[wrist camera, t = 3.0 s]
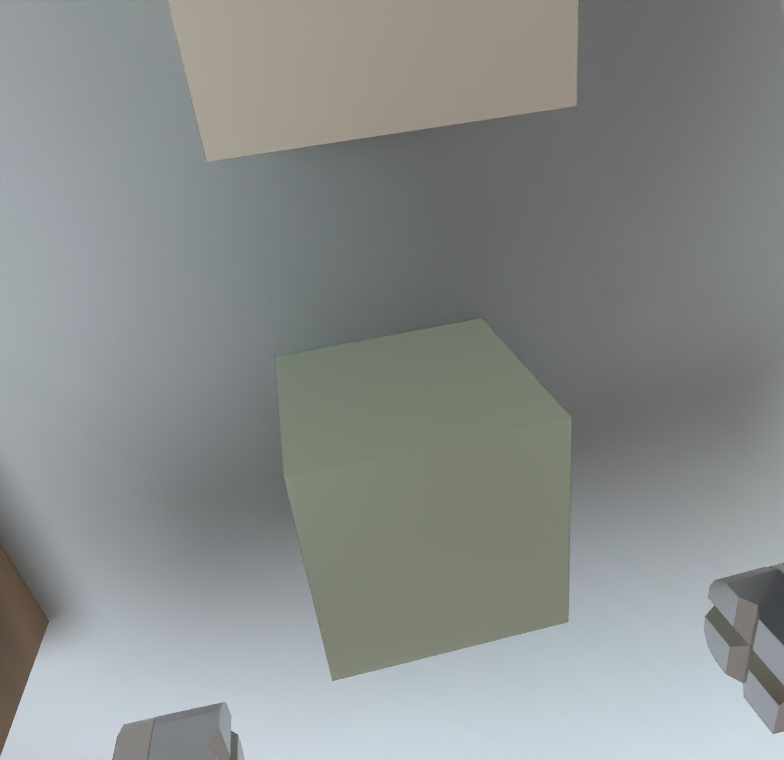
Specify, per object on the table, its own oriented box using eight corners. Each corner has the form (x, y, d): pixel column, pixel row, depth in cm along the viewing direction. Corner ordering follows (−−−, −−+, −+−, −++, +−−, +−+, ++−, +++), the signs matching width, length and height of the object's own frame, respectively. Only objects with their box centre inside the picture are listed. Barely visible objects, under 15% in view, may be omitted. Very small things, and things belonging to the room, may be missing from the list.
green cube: (274, 355, 15) (283, 478, 10) (480, 316, 15) (572, 417, 11) (311, 522, 17) (332, 680, 13) (489, 483, 18) (568, 621, 13)
